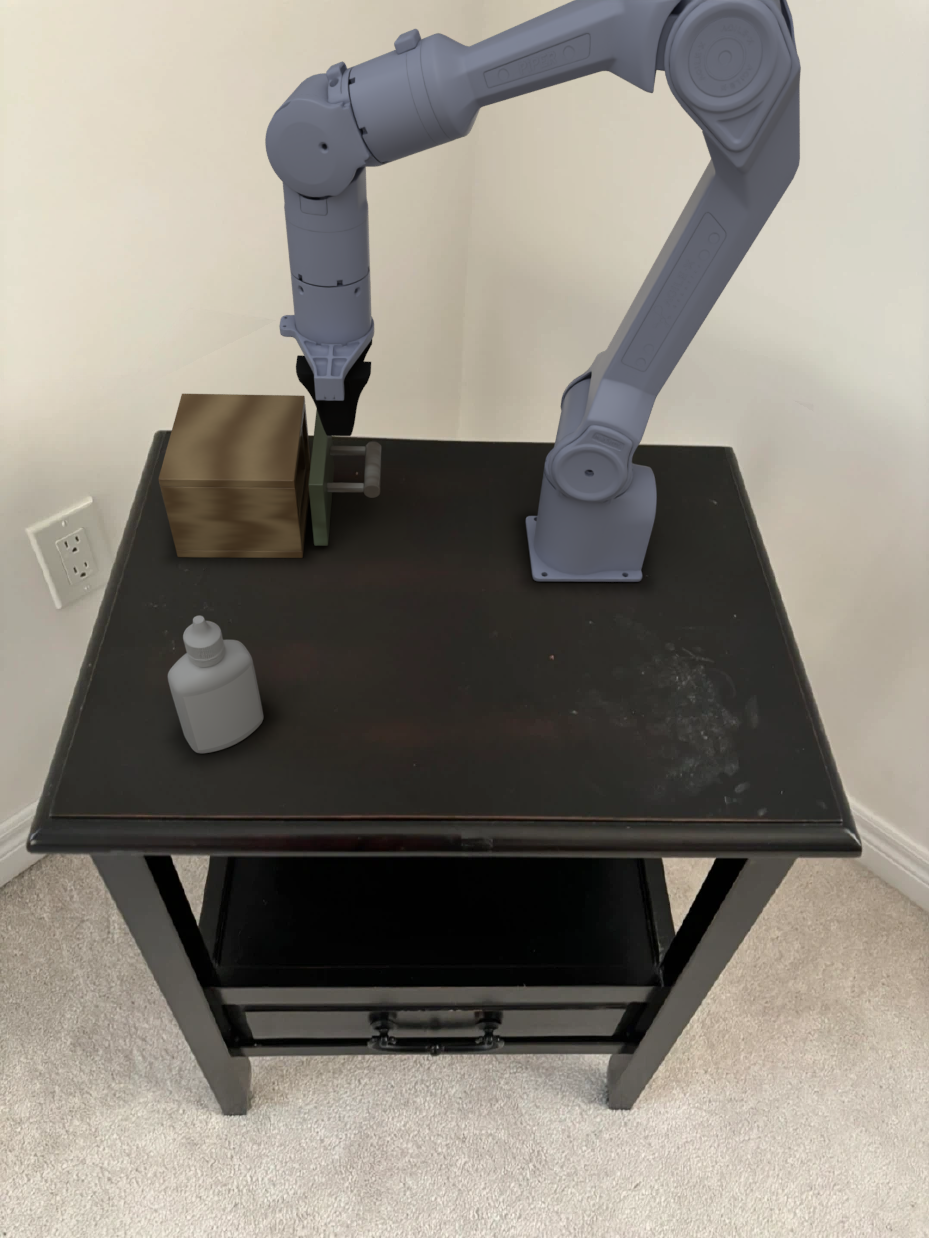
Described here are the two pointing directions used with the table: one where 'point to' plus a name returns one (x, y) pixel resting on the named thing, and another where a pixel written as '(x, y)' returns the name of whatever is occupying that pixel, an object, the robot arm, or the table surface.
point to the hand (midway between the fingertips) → (339, 423)
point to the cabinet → (236, 476)
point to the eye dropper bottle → (214, 689)
